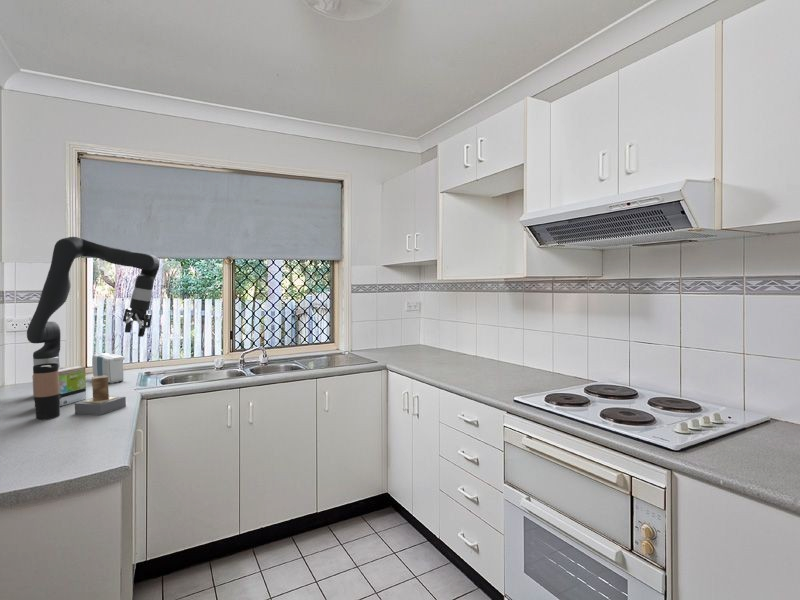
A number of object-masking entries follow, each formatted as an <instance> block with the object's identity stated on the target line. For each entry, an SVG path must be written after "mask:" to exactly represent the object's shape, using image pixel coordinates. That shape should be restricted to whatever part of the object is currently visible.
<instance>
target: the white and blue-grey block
mask: <svg viewBox="0 0 800 600" xmlns="http://www.w3.org/2000/svg"><path fill="white" fill-rule="evenodd" d="M121 344H122V343H121V342H119V344H118V345H117V346H115V348H114V349H113V350H111V351H110V352H104V353H96V354H93V355H92V359H91V361H92V362H91V363H92V375H93V376H92V377H94V376H103V375H107V376H108V384H111V383H112V384H115V383H114V382H116V383H119V381H122V382H124V379H125V378H124V360H125V359H126V357H125V356H123V355H120V354H116V353H114V352H115V351H116V349H117V348H118V347H120V346H119V345H121Z"/></svg>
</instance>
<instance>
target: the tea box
mask: <svg viewBox="0 0 800 600" xmlns="http://www.w3.org/2000/svg"><path fill="white" fill-rule="evenodd" d="M58 374H59V391H60V407H61V406H66V405H68V404H69V405H70V404H75V403H77V402H81V401H84V399H85V400H87V387H86V385H87V384H86V383H87V382H86V381H87V380H86V379H87V378H86V366H77V365H76V366H75V365H73V366H71V365H67V366H66V365H65V366H60V368H58Z"/></svg>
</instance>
